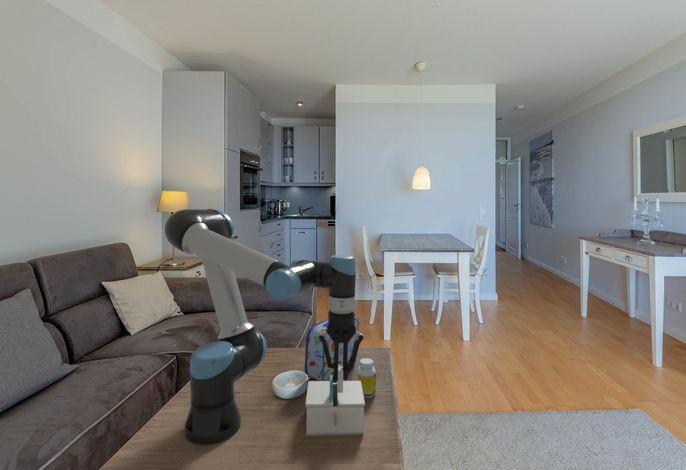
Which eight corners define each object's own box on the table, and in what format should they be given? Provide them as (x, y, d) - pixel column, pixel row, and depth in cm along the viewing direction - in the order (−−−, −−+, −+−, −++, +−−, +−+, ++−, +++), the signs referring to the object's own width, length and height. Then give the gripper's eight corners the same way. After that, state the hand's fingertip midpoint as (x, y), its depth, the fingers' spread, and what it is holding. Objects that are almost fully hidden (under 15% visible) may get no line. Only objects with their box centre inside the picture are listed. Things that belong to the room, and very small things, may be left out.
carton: (305, 440, 96) (306, 412, 95) (309, 407, 112) (309, 383, 111) (364, 440, 96) (364, 412, 96) (359, 406, 112) (359, 382, 112)
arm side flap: (305, 406, 98) (305, 383, 97) (308, 383, 111) (308, 362, 110) (332, 406, 98) (333, 383, 97) (332, 383, 111) (332, 362, 111)
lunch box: (340, 356, 151) (341, 306, 150) (361, 361, 146) (362, 310, 144) (301, 382, 128) (301, 323, 126) (324, 390, 123) (324, 328, 121)
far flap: (360, 382, 111) (361, 362, 111) (364, 406, 98) (365, 383, 98) (336, 383, 111) (337, 362, 111) (337, 406, 98) (338, 383, 98)
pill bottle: (374, 399, 117) (375, 366, 116) (355, 397, 118) (355, 364, 117) (376, 390, 123) (377, 358, 122) (358, 388, 124) (358, 356, 124)
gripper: (318, 314, 95) (317, 397, 97) (365, 314, 96) (363, 397, 98) (319, 306, 103) (317, 383, 104) (363, 306, 103) (361, 383, 105)
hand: (340, 390), depth 101 cm, fingers closed
